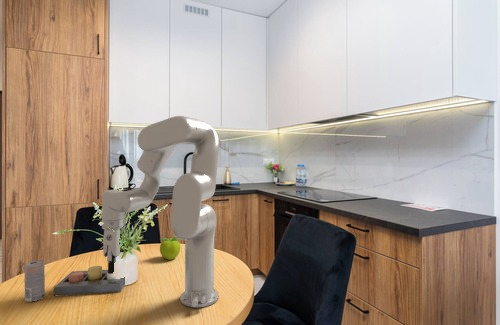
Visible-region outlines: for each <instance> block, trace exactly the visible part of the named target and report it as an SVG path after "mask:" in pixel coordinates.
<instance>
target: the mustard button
mask: <svg viewBox="0 0 500 325" xmlns="http://www.w3.org/2000/svg"><path fill="white" fill-rule="evenodd" d="M102 270H103V266H102V265H94V266H91V267H88V269H87V271H88V281H96V280H101V279H102Z"/></svg>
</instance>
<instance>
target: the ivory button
mask: <svg viewBox="0 0 500 325" xmlns="http://www.w3.org/2000/svg"><path fill="white" fill-rule="evenodd" d="M113 279H116V276H115V274H113V273H111V274H108V273H107V280H113Z"/></svg>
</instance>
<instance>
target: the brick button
mask: <svg viewBox="0 0 500 325" xmlns="http://www.w3.org/2000/svg"><path fill="white" fill-rule="evenodd" d="M69 274H70V273H69ZM69 274H68V275H69ZM82 280H83V273H82V272H76V273H72V274H70V275H69V282H78V281H82Z"/></svg>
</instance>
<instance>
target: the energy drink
mask: <svg viewBox="0 0 500 325" xmlns="http://www.w3.org/2000/svg"><path fill="white" fill-rule="evenodd" d="M45 273H46V271H45V262H44V260H42V259H40V260H39V259H38V260H36V259H35V260H32V261H28V262H26V263H25V265H24V301H25V302H26V301H28V302H27V303H33V302H32V301H35V302H38V301H37V300H39V301H41V300H43V299H44V298H45V296H46V294H45V293H46V292H45V291H46V289H45V287H46V285H45V282H46V281H45V280H46V279H45V277H46V276H45V275H46V274H45ZM43 297H44V298H43ZM42 298H43V299H42ZM40 299H41V300H40Z"/></svg>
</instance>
